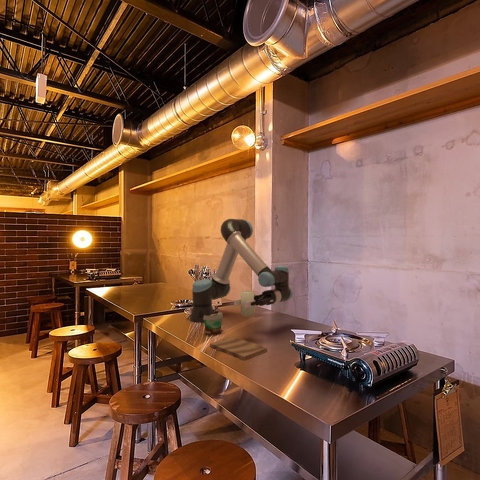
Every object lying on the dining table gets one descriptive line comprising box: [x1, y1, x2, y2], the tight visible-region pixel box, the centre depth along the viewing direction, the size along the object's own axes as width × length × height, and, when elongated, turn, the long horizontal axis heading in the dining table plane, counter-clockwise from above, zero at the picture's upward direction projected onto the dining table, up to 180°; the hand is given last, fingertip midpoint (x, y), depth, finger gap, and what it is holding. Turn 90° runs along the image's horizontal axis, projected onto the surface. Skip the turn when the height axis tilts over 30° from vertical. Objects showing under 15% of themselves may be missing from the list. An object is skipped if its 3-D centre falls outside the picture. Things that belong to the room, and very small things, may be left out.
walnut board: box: [209, 336, 268, 361], centre depth 141 cm, size 22×14×2 cm, turn 44°
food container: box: [203, 310, 224, 336], centre depth 164 cm, size 12×6×10 cm, turn 143°
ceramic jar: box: [240, 290, 255, 317], centre depth 154 cm, size 6×6×11 cm
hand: (240, 303), depth 150 cm, fingers closed on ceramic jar, 6 cm apart
